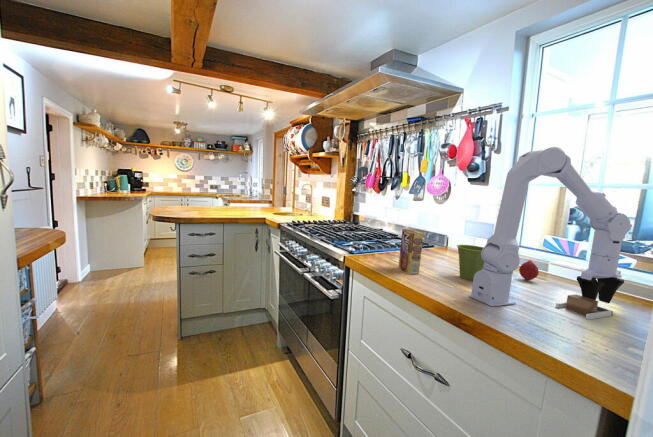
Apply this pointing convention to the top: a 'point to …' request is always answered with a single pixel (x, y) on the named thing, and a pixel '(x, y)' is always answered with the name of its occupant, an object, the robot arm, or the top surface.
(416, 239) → the candy box
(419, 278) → the top surface
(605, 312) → the channel
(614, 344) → the top surface
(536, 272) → the pomegranate
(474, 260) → the plant pot
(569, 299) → the walnut block
